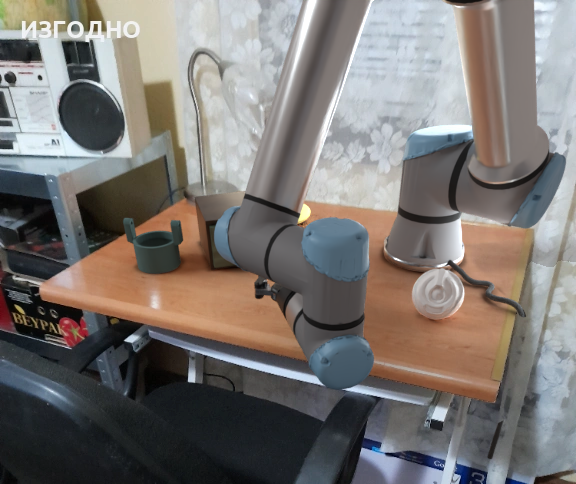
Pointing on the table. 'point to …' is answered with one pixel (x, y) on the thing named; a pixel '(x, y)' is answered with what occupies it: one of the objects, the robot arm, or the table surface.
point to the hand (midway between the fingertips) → (269, 243)
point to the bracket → (156, 247)
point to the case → (213, 217)
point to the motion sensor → (438, 294)
